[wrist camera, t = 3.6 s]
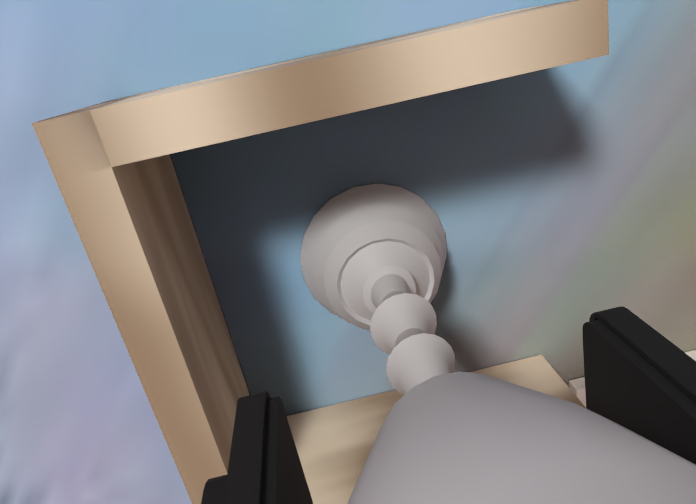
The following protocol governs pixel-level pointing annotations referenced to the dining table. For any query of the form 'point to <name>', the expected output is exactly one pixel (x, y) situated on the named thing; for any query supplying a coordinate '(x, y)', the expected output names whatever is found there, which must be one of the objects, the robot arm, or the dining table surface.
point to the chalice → (462, 382)
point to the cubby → (183, 246)
